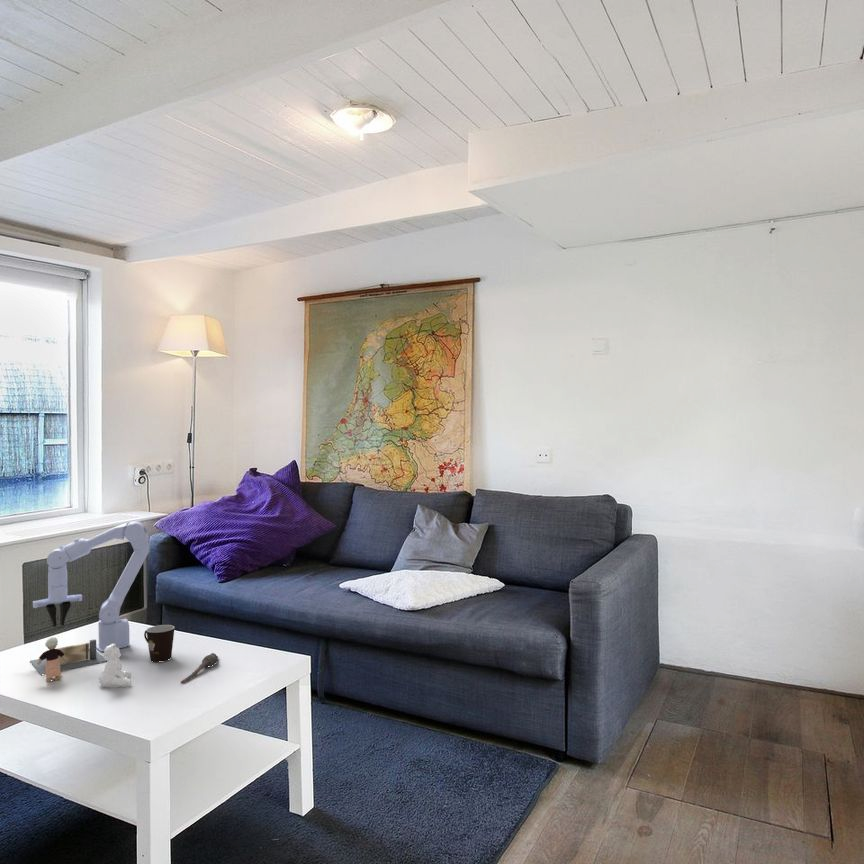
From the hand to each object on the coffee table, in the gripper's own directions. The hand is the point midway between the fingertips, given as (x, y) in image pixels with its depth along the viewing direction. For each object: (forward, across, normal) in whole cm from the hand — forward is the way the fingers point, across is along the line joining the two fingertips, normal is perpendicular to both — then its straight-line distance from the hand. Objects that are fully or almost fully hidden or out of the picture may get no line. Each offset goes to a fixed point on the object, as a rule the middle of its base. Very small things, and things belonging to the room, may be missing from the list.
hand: (58, 625), depth 230 cm
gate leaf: (+9, 0, +15) cm, 17 cm away
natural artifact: (+10, -29, +49) cm, 58 cm away
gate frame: (+9, 0, +12) cm, 15 cm away
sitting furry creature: (+10, -6, +43) cm, 44 cm away
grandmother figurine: (+10, +7, +26) cm, 29 cm away
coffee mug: (+10, -24, +28) cm, 38 cm away
